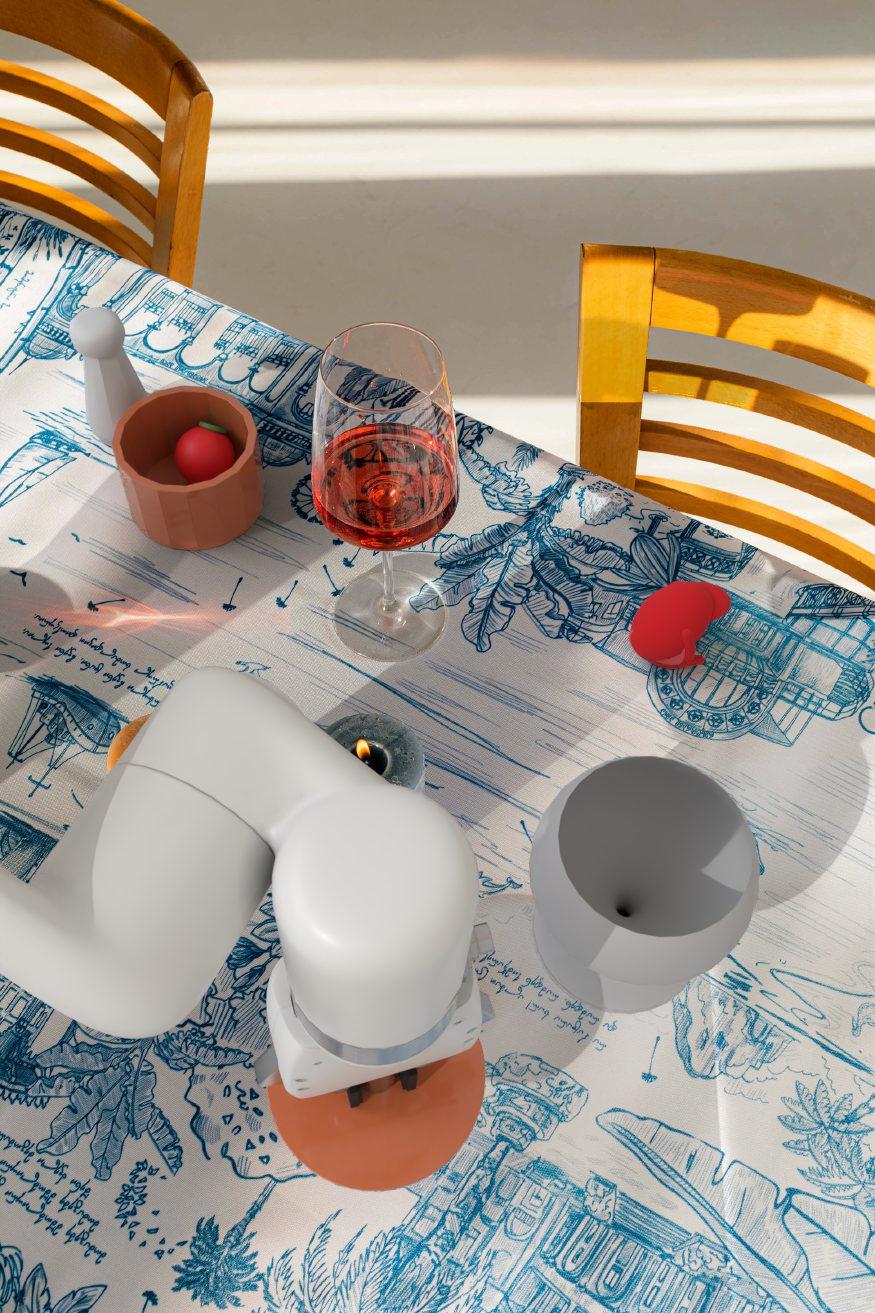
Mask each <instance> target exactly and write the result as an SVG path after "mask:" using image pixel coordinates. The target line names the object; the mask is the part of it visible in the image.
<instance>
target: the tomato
mask: <svg viewBox="0 0 875 1313" xmlns="http://www.w3.org/2000/svg"><path fill="white" fill-rule="evenodd" d="M199 426H200V427H195V428H192V429H190V430H188V431H187V432H186V433H184V434H183V435H182V436H181V438H180V439H179V441H178V443H177V445H176V448H175V463H176V466H177V468H178V470H179V472H180V473H181V474H182V476H183V477H184V478H185V479H186V480H188V481H189V482H191V483H193V484H195V483H200V482H204V481H208V480H212V479H214V478H215V477H217V476H218V475H220V474H222V473H223V472H225V471H227V470H228V469H230V468H232V467H233V465H234V462H235V452H234V448H233V445H232V443H231V441H230V440H229V438H228V437H227V436H226V435H225V434H227V432H228V430H227V429H224V428H221V427H218V426H215V425H212V424H209V423H206V422H203V421H200V423H199Z"/></svg>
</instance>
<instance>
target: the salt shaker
mask: <svg viewBox="0 0 875 1313" xmlns="http://www.w3.org/2000/svg"><path fill="white" fill-rule="evenodd" d="M68 333H69V334H68V335H69V338H70V340H71V343H72V346H73V347H74V350H75V351H76V353H79V354H80V355H82V360H83V362H82V363H83V379H84V380H83V381H84V402H85V403H84V404H85V419H86V422H87V424H88V426H89V428H90V430H91V432H92V434H93V435H95V436H96V437H97V438H98V439H99V440H100V441H101V442H102V443H103V444H104V445H106V446H109V447H111V448H112V445H111V444H112V443H111V442H112V439H113V435H114V432H115V428H116V424H117V422H118V421H119V419H120V418H121V417H122V416H123V415H124V414H125V412H126V411H127V410H128V409H129V408H130V407H131V406H132V405H133V404H134V403H135V402H137V401H139V400H141V399H143V398H144V397H146V396H148V395H149V394H148V393H147V391H146V389H145V387H144V385H143V384H142V381H141V379H140V377H139V375H138V374H137V372H136V370H135V367H134V366H133V364H132V362H131V361H130V360H131V359H130V358H129V356H128V354H127V352H126V351H125V348H124V343H125V338H126V327H125V326H124V323H123V322H122V319H121V318H120V316H119V314H118V313H117V312H115V311H113V310H112V309H110V308H106V307H100V306H95V307H87V308H85V309H83V310H81V311H79V312H78V313H76V314H75V316H74V317H73V318H72V319H71V320H70V323H69V327H68Z"/></svg>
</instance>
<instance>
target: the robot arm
mask: <svg viewBox="0 0 875 1313" xmlns="http://www.w3.org/2000/svg"><path fill="white" fill-rule="evenodd" d="M477 860H478V859H477V857H476V855H475V852H474V848H473V845H472V843H471V841H470V839H469V837H468V836H467V834H466V832H465V831H464V828H463V827H462V825H461V824H460V823H459V822H458V821H457V819H456V818H455V817H454V815H452V813H450V812H449V811H448V810H447V809H446V808H445V807H444V806H442V804H440V803H439V802H438V801H436V800H434V799H432V798H431V797H429V796H428V795H426V794H424V793H422V792H419V791H417V790H415V789H412V788H410V787H406V786H401V785H399V784H393V783H390V782H389V781H388V780H386V779H385V778H384V777H382V775H380V774H378V773H377V772H376V771H375V770H374V769H372V768H371V767H369V766H368V765H367V764H366V763H365V762H363V761H362V760H361V759H359V758H358V757H357V756H356V755H354V754H353V753H352V752H350V751H349V750H348V749H347V748H346V747H344V746H343V745H341V744H340V743H339V742H338V741H337V740H335V739H334V737H332V736H331V735H329V734H328V733H327V732H326V731H325V730H323V729H322V728H321V727H320V726H318V724H316V723H315V722H314V721H312V720H311V719H310V718H309V717H308V716H306V715H305V713H304V712H303V711H302V709H301V708H300V707H299V706H298V705H297V703H296V702H295V701H294V700H293V699H292V698H291V697H290V696H289V695H287V694H286V693H285V691H283V690H282V689H280V688H279V687H277V686H276V685H275V684H274V683H272V682H270V681H269V680H268V679H265V678H263V677H262V676H260V675H256V674H255V673H250V672H246V671H238V670H236V669H233V668H230V667H225V666H219V665H208V666H201V667H198V668H195V669H193V670H191V671H189V672H187V673H186V674H184V675H183V676H182V677H180V678H179V679H178V680H177V681H176V682H174V684H173V685H172V687H171V688H170V689H169V690H168V691H167V692H166V693H165V694H164V696H162V698H161V700H160V701H159V702H158V704H157V705H156V706H155V708H154V709H153V711H151V714H150V715H149V716H148V717H147V719H146V720H145V722H144V723H143V725H142V726H141V727H140V728H139V730H138V731H137V733H136V734H135V736H134V737H133V739H132V740H131V741H130V743H129V744H128V745H127V747H126V749H125V750H124V751H123V752H122V754H121V755H120V757H119V758H118V759H117V761H116V762H115V764H114V765H113V766H112V768H111V769H110V770H109V771H108V773H107V774H106V775H105V777H104V778H103V779H102V780H101V782H100V783H99V785H98V786H97V788H96V789H95V791H94V793H92V795H91V796H90V798H89V800H88V801H86V804H84V806H83V808H82V809H81V810H80V811H79V813H78V814H77V816H76V817H75V819H74V820H73V821H72V823H71V824H70V825H69V827H68V828H67V829H66V831H65V832H64V833H63V835H62V837H61V838H60V839H59V841H58V842H57V843H56V845H55V846H54V847H53V849H52V850H51V851H50V853H49V854H48V855H47V856H46V857H45V859H44V861H43V862H42V863H41V865H40V866H39V868H38V870H37V871H36V873H35V874H34V876H33V877H32V879H30V881H29V882H28V883H27V882H25V881H23V880H22V879H20V878H19V877H17V876H16V875H14V874H13V873H11V871H9V870H7V868H5V867H3V866H2V865H0V975H1V976H3V977H4V978H6V979H8V980H9V981H10V982H12V983H13V984H15V985H16V986H18V987H19V988H20V989H22V990H24V991H26V992H27V993H29V994H30V995H32V996H33V997H35V998H36V999H38V1000H39V1001H41V1002H43V1003H44V1004H46V1005H48V1006H49V1007H50V1008H52V1009H54V1010H55V1011H57V1012H59V1013H61V1014H62V1015H64V1016H66V1017H67V1018H71V1019H72V1020H74V1021H76V1022H78V1023H80V1024H81V1025H83V1026H85V1027H87V1028H90V1029H92V1030H94V1031H97V1032H100V1033H102V1034H105V1035H108V1036H111V1037H112V1036H113V1037H116V1038H122V1039H130V1040H139V1039H148V1038H154V1037H157V1036H160V1035H162V1034H164V1033H167V1032H169V1031H171V1030H172V1029H173V1028H175V1027H176V1026H178V1025H179V1024H180V1023H182V1021H184V1020H185V1019H186V1018H187V1017H188V1016H189V1014H190V1013H191V1012H192V1011H193V1010H194V1009H195V1008H196V1007H197V1006H198V1005H199V1003H200V1002H201V1000H202V999H203V997H204V996H205V994H206V993H207V991H208V990H209V988H210V987H211V985H212V984H213V982H214V981H215V979H216V977H217V976H218V974H219V972H220V971H221V969H222V967H223V966H224V964H225V963H226V961H227V960H228V958H229V956H230V955H231V953H232V951H233V950H234V948H235V946H236V944H237V943H238V941H239V940H240V938H241V936H242V934H243V933H244V931H245V929H246V928H247V926H248V925H249V923H250V921H251V919H252V918H253V916H254V914H255V912H256V911H257V909H258V907H259V906H260V904H261V902H262V901H263V899H264V898H265V896H266V894H267V892H268V890H270V887H271V902H272V910H273V913H274V914H273V915H274V919H275V922H276V923H275V924H276V928H277V932H278V933H277V934H278V937H279V943H280V947H281V948H280V949H281V952H282V956H281V957H280V958H279V960H278V961H277V962H276V964H275V965H274V967H273V969H272V971H271V974H270V976H269V979H268V983H267V987H266V1000H265V1002H266V1003H265V1004H266V1015H267V1016H266V1017H267V1023H268V1028H269V1034H270V1038H271V1039H272V1041H273V1044H272V1043H271V1044H272V1045H271V1044H270V1045H269V1046H268V1047H267V1048H266V1049H265V1050H264V1051H263V1053H261V1054H260V1055H259V1057H257V1058H256V1059H255V1061H253V1063H252V1064H253V1068H254V1073H255V1078H256V1082H257V1087H258V1088H266V1087H267V1086H273V1085H278V1084H284V1086H285V1089H286V1091H287V1092H288V1093H290V1094H291V1095H293V1096H295V1097H297V1098H301V1099H302V1098H309V1097H314V1096H318V1095H322V1094H326V1093H339V1092H342V1091H345V1090H346V1091H347V1095H348V1099H349V1103H350V1107H351V1108H354V1107H357V1106H360V1103H362V1102H363V1096H362V1086H361V1083H365V1082H368V1081H371V1080H375V1079H378V1078H382V1077H385V1076H388V1075H392V1074H395V1073H398V1074H399V1078H400V1081H401V1085H402V1088H403V1090H405V1089H406V1090H407V1091H411V1090H414V1089H416V1084H417V1076H418V1073H417V1069H419V1068H423V1067H425V1066H428V1065H430V1064H432V1063H434V1061H438V1060H441V1059H444V1058H447V1057H450V1056H453V1055H456V1054H458V1053H461V1052H463V1051H466V1050H468V1049H470V1048H471V1047H472V1046H473V1045H474V1044H475V1042H476V1041H477V1039H478V1037H479V1038H480V1035H481V1032H482V1028H483V1024H485V1023H489V1022H490V1021H493V1020H495V1019H496V1015H495V1011H494V1008H493V1004H492V1002H491V999H490V996H489V994H488V993H486V992H483V991H481V990H480V987H479V980H478V975H477V971H476V967H475V964H474V961H477V960H479V959H480V956H483V955H487V954H489V953H493V952H495V943H494V937H493V933H492V932H491V928H490V925H489V924H488V922H486V921H485V922H481V923H477V924H475V923H476V922H475V921H476V917H477V912H478V905H479V898H480V872H479V865H478V861H477Z"/></svg>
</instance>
